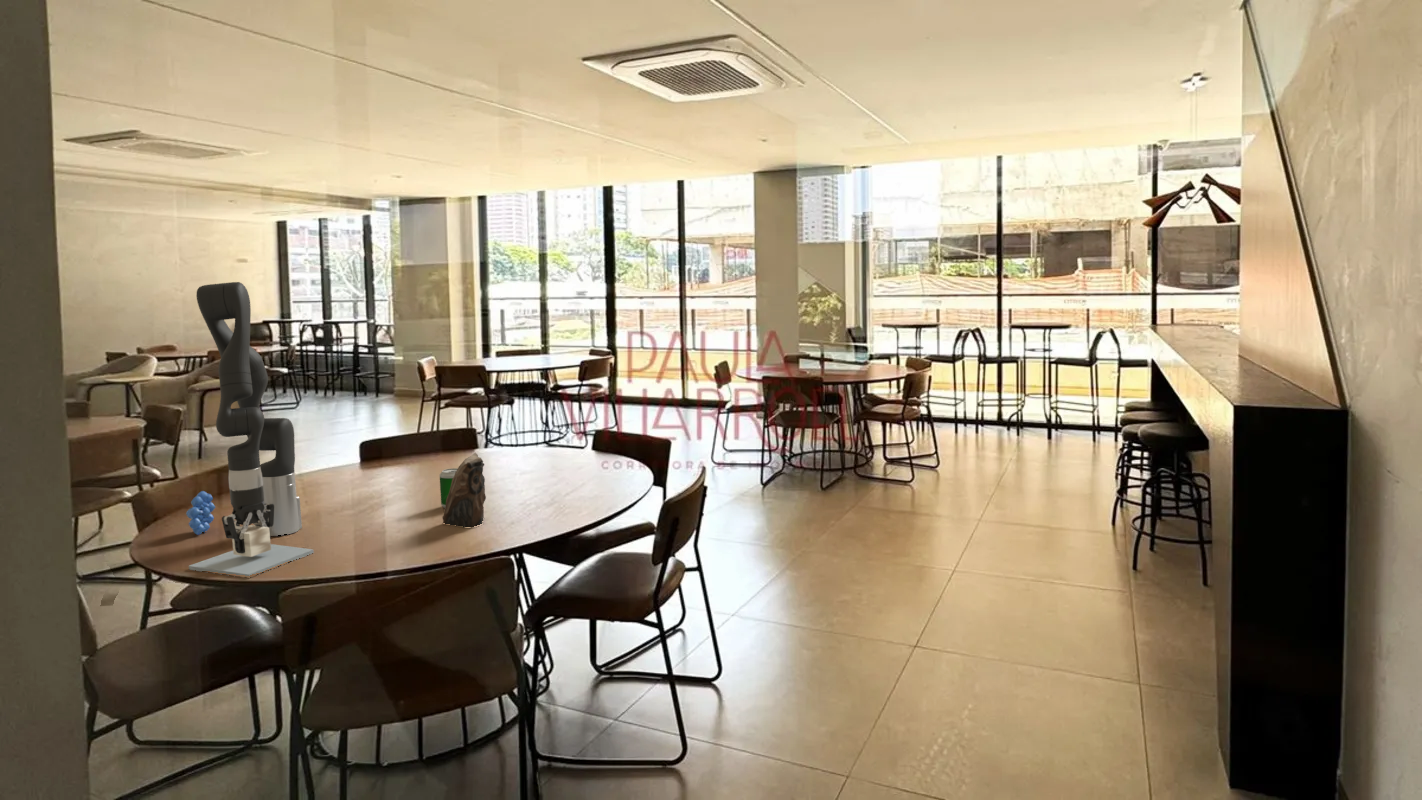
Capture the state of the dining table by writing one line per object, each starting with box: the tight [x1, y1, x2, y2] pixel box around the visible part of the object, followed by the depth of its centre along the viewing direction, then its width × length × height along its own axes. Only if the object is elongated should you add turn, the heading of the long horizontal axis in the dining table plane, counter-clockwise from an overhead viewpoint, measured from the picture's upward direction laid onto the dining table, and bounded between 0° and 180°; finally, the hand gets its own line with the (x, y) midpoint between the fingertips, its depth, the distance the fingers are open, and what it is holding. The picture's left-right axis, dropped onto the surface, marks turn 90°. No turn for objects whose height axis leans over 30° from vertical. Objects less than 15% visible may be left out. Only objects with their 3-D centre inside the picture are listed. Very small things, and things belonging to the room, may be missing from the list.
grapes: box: [185, 490, 216, 536], centre depth 237 cm, size 12×7×12 cm, turn 5°
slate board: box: [188, 543, 315, 576], centre depth 213 cm, size 20×20×1 cm
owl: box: [442, 452, 487, 528], centre depth 244 cm, size 13×13×20 cm
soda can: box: [439, 467, 458, 509], centre depth 262 cm, size 8×8×12 cm
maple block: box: [231, 524, 272, 557], centre depth 212 cm, size 6×6×6 cm
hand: (252, 548), depth 213 cm, fingers closed on maple block, 6 cm apart
